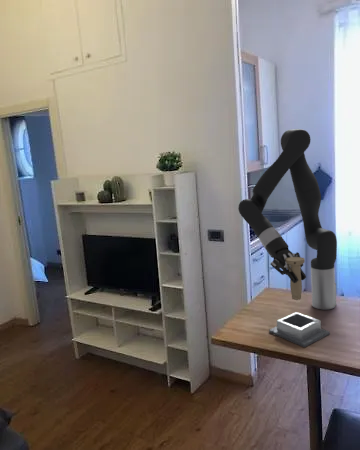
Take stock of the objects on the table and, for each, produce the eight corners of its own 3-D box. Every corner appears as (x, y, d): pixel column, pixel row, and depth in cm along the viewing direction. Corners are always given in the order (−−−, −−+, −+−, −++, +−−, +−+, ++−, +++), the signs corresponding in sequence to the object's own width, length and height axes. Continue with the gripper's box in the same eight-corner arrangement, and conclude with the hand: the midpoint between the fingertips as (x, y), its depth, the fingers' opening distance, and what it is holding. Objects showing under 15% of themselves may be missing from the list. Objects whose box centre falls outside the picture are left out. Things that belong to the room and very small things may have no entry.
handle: (305, 301, 137) (304, 260, 135) (286, 300, 139) (285, 260, 137) (306, 296, 142) (304, 257, 139) (287, 295, 144) (286, 257, 141)
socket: (294, 320, 153) (293, 308, 152) (329, 334, 140) (329, 321, 139) (269, 332, 145) (268, 319, 145) (304, 347, 132) (303, 333, 131)
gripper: (264, 240, 139) (292, 280, 131) (291, 232, 146) (319, 270, 139) (254, 252, 144) (281, 291, 136) (281, 244, 152) (307, 280, 144)
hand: (300, 280), depth 138 cm, fingers closed on handle, 3 cm apart
